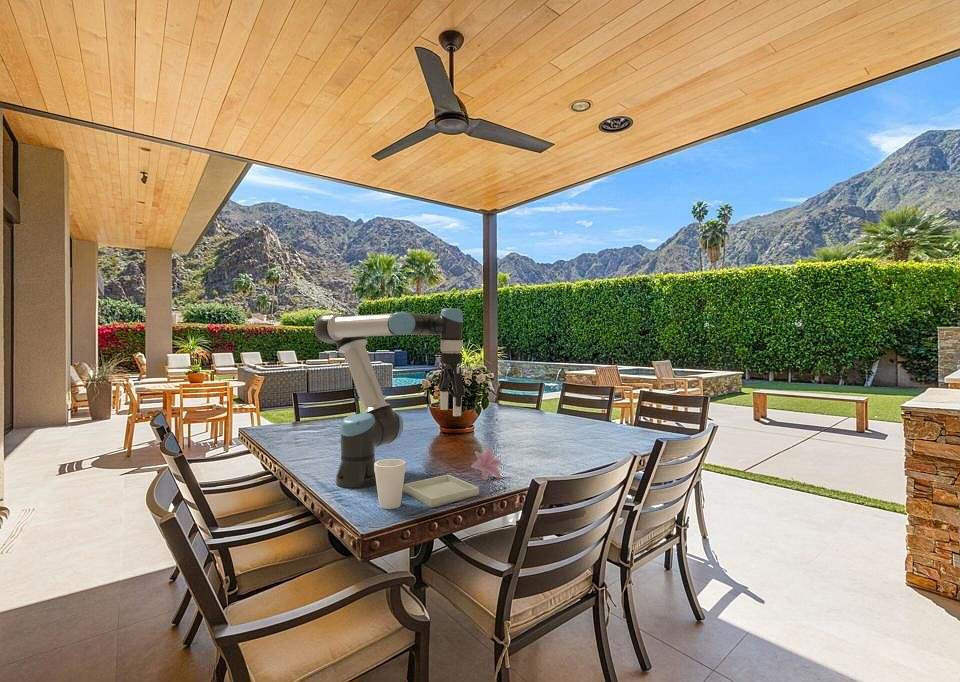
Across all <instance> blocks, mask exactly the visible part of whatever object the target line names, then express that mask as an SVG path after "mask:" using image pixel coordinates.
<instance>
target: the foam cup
mask: <svg viewBox="0 0 960 682" xmlns="http://www.w3.org/2000/svg"><path fill="white" fill-rule="evenodd" d="M406 469H407V462H406V460H404V459H400V458H385V459H380V460H377V461H376V462H375V463H374V472H375V476H376V490H377V496H378V505H379V508H381V509H385V510H393V509H396V508H397V509H398V508H399V507H401V504H402V499H403V498H402V497H403V484H405V483H404V481H405V476H406V475H405V473H406Z"/></svg>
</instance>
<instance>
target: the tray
mask: <svg viewBox="0 0 960 682" xmlns="http://www.w3.org/2000/svg"><path fill="white" fill-rule="evenodd" d="M402 493H405V494H406V495H408V496H410V497H411V498H413V499H416V500H418V501H419V502H421V503H423V504H425V505H426V506H428V507H430V508H434V507H439V506H442V505H446V504H451V503H454V502H457V501H462V500H465V499H469V498H473V497H477V496H479V495H480V487H479V486H476V485H474V484H472V483H469V482H467V481H465V480H462V479H461V478H458V477H456V476H452V475H451V474H445V475H440V476H434V477H429V478H426V479H422V480H417V481H411V482H406V483H403V491H402Z"/></svg>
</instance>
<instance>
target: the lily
mask: <svg viewBox="0 0 960 682" xmlns="http://www.w3.org/2000/svg"><path fill="white" fill-rule="evenodd" d="M474 454H475V456H476V458H477V460H476V461H475V462H474V463H473V464H472V465H471V468H472V469H475V470H480V474H482V478H483V480H484V481H486V479H487V478H488V476H489V475H493V476H494V477H497V478H499V479H500V478H502V475H501V473H500V471H499V468H498V467H497V466H498V465H500V464H501V462H502V461H501V460H499V459H497V458H494V453H493V449H492V447H491V446H489V447H488V448H487V449H486V450H485V452H484V454H482V453H480V451H474Z"/></svg>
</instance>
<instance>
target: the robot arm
mask: <svg viewBox="0 0 960 682" xmlns="http://www.w3.org/2000/svg"><path fill="white" fill-rule="evenodd" d="M463 318H464V317H463V310H462V309H461V308H455V307H453V308H452V307H450V308H449V307H445V308H442V309H441V313H439V314H437V313H436V314H434V313H417V312H416V313H415V312H407V311H396V312H394V313H381V314H378V313H377V314H364V315H356V314H353V313H349V314H348V313H347V314H343V313H324V314H322V315H320V316H319V317H318V318H317V319H316V321H315V322H314V327H313V329H314V335H315V337H316V338H317V339H318V340H319V341H321V342H322V343H325V344H335V345H336V347H337V350H338V352H339V353H341V354H343V355H344V357H345V360H346V363H347V365H348V368H349V369H348V370H349V371H350V375H351V378H352V380H353V383H354V386H355V389H356V392H357V395H358V397H359V400H360V402H361V405H362V408H363V411H362V412H361V413H353V414H350V415H348V416H346V417H344V418H343V419H342V420H341V423H340V464H339V466H338V469H337V472H336V476H335V484H336V486H338V487H341V488H351V489H358V488H365V487H369V486H373V485H377V483H376V476H375V472H374V463H375V462H377V461H376V459H375V458H376V456H375V455H376V454H375V452H376V450H375V448H378V447H380V446H384V445H387V444H388V445H389V444H390V443H393V442H395V441H396V440H398V439H399V438H400V437H401V435H402V433H403V431H404V420H403V417H402V416H401V415H400V413H398V412H397V411H395V410H393V407H392V405H391V404H390V403H388V402H386V400H385V398H384V394H383V392H382V389H381V386H380V384H379V380H378V378H377V375H376V373H375V370H374V367H373V364H372V362H371V359H370V356H369V353H368V350H367V348H366V345H367V344H368V337H383V336H385V337H386V336H408V335H409V336H413V335H414V336H440V351H441V352H440V363H441V372H440V377H439V383H438V387H437V388H438V390H439V392H440V401H439V402H440V403H439V405H440V406H439V407H440V408H439V409H440V410H441V411H443V410H449V391H450V390H449V386H450V383H451V387H452V390H453V395H452V402H453V403H452V407H453V408H452V416H453V417H461V416H462V403H463V402H462V399H463V396H465V388H464V381H463V375H462V367H460V366H459V367H458V365H461V364H463V354H462V352H463V346H464V343H463V323H464V320H463Z"/></svg>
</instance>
